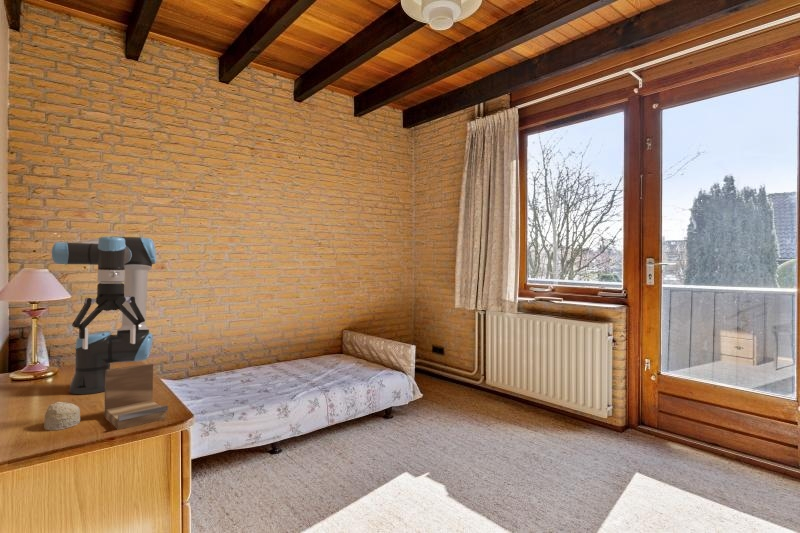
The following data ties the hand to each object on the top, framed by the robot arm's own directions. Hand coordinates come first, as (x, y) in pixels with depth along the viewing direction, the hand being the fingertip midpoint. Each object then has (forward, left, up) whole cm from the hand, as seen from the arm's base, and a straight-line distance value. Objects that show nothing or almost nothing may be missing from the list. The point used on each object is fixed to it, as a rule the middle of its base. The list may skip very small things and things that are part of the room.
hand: (109, 346), depth 140 cm
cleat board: (+6, +6, -24) cm, 26 cm away
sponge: (-3, -12, -25) cm, 27 cm away
